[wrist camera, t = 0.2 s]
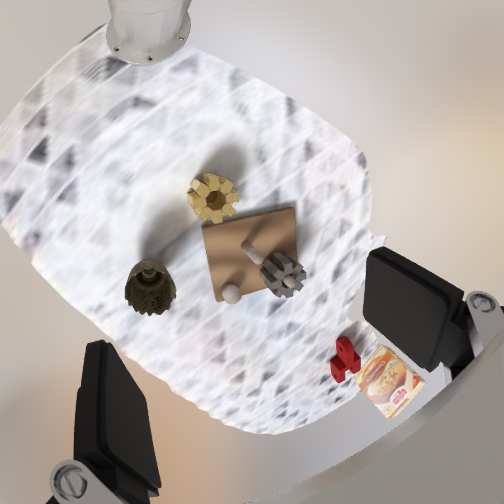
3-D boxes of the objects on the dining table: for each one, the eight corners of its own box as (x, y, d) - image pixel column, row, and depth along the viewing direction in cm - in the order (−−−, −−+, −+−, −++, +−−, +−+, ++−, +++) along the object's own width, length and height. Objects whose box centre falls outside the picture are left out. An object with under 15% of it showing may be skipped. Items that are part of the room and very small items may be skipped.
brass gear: (178, 198, 42) (183, 206, 37) (205, 164, 41) (213, 167, 37) (211, 222, 45) (219, 231, 41) (237, 189, 44) (247, 195, 40)
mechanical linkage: (350, 363, 77) (360, 373, 72) (331, 375, 75) (340, 386, 71) (349, 328, 69) (361, 339, 65) (327, 341, 68) (338, 353, 63)
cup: (139, 240, 42) (139, 261, 35) (178, 260, 45) (185, 284, 39) (119, 278, 43) (116, 304, 36) (157, 296, 46) (161, 323, 40)
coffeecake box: (380, 343, 79) (420, 381, 62) (389, 347, 82) (427, 381, 65) (351, 379, 81) (386, 419, 64) (362, 380, 84) (395, 417, 67)
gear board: (201, 226, 45) (211, 242, 38) (291, 206, 49) (312, 218, 43) (215, 299, 51) (226, 322, 45) (294, 275, 55) (313, 293, 49)
